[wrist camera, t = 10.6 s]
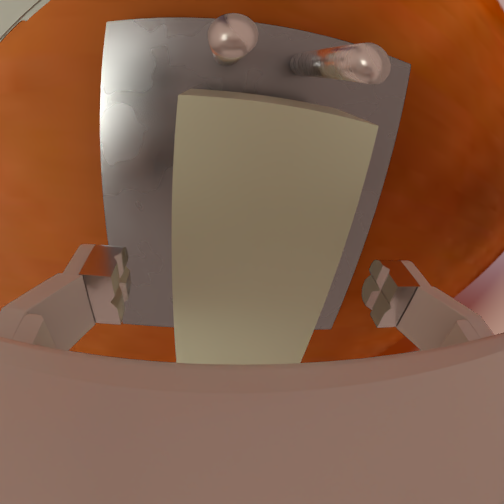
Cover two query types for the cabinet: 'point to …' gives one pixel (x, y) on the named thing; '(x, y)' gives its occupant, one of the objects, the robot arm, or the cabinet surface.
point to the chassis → (235, 80)
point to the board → (259, 221)
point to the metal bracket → (17, 13)
